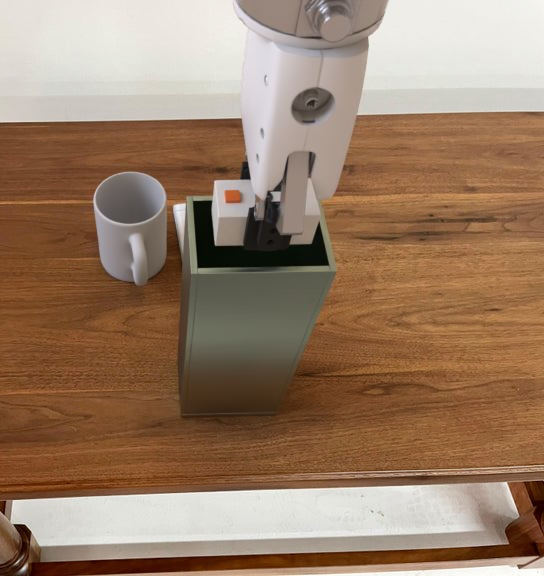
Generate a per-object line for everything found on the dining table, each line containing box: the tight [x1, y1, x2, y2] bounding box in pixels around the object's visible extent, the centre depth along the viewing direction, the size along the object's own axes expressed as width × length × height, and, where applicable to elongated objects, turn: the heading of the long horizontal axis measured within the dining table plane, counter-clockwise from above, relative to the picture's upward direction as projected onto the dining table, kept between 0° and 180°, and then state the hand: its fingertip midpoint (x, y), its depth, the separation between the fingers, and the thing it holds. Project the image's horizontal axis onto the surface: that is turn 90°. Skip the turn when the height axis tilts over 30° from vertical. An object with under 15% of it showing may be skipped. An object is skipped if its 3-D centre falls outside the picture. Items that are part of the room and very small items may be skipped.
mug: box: [93, 171, 168, 287], centre depth 72 cm, size 12×8×11 cm
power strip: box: [212, 177, 321, 246], centre depth 43 cm, size 4×7×4 cm, turn 91°
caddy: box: [177, 195, 338, 418], centre depth 56 cm, size 10×8×27 cm
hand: (261, 222), depth 44 cm, fingers closed on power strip, 3 cm apart
